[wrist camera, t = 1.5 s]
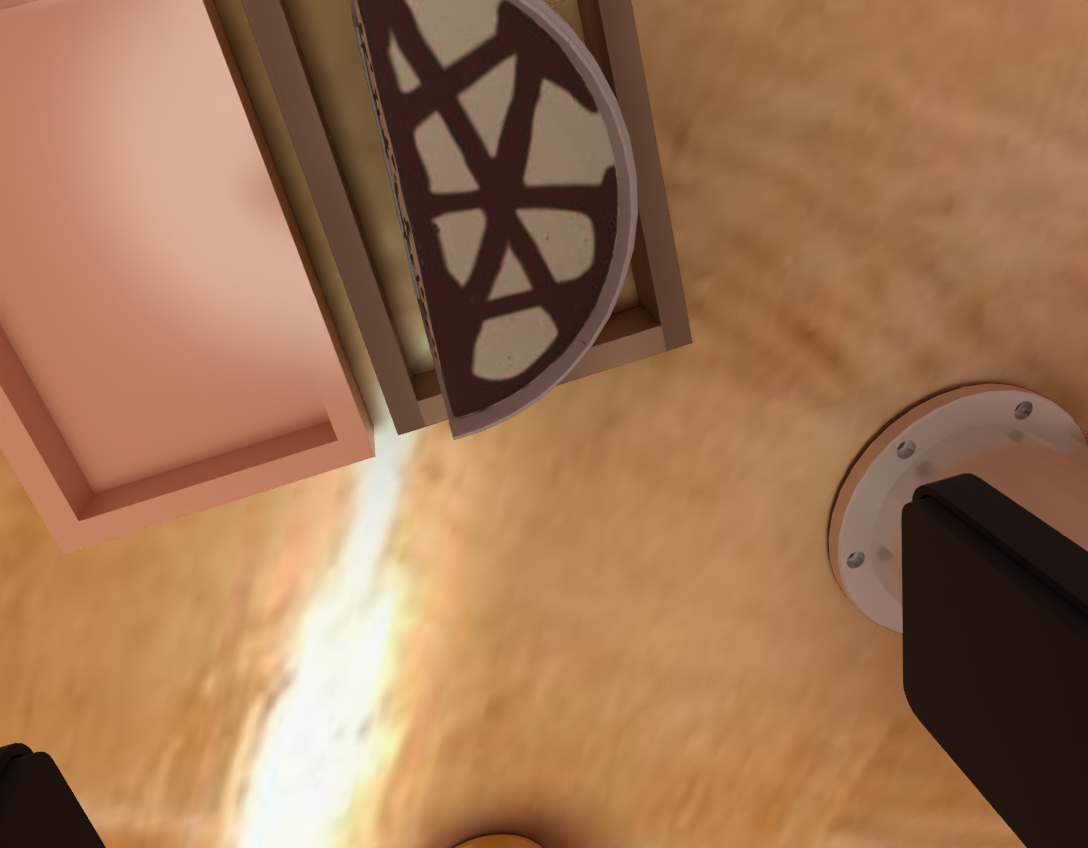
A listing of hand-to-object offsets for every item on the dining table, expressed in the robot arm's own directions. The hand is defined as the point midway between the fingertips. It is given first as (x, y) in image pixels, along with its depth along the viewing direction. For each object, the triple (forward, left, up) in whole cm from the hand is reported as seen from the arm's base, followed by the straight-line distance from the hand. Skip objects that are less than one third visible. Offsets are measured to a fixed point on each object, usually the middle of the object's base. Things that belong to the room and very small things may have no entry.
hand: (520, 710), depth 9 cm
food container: (-3, -3, -23) cm, 24 cm away
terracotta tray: (+9, -3, -23) cm, 25 cm away
